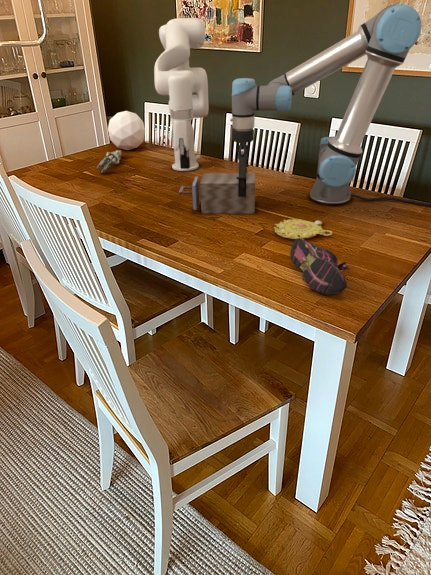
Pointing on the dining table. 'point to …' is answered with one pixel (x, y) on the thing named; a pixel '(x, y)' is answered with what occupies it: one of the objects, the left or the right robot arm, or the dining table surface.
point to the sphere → (126, 130)
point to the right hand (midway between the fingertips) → (242, 190)
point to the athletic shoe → (318, 267)
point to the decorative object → (300, 229)
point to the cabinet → (226, 194)
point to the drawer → (194, 192)
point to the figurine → (110, 160)
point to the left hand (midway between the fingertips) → (185, 167)
